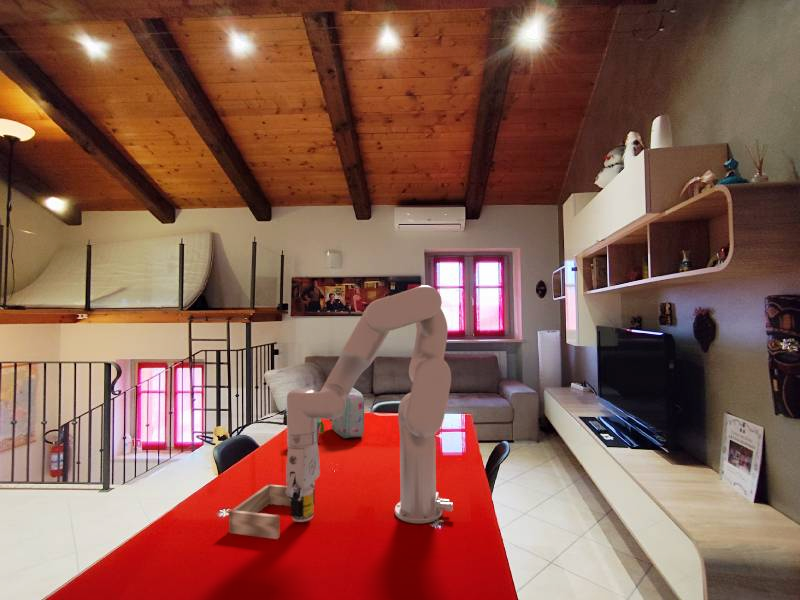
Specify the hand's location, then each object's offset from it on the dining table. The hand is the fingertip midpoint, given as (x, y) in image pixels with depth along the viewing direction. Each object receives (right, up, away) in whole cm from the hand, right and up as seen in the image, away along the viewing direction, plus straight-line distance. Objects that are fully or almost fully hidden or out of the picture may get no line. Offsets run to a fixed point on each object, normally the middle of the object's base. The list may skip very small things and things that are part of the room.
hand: (302, 509), depth 103 cm
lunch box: (0, -8, +81) cm, 82 cm away
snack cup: (-13, -7, +64) cm, 66 cm away
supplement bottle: (0, -2, 0) cm, 2 cm away
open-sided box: (-8, -3, +2) cm, 9 cm away
